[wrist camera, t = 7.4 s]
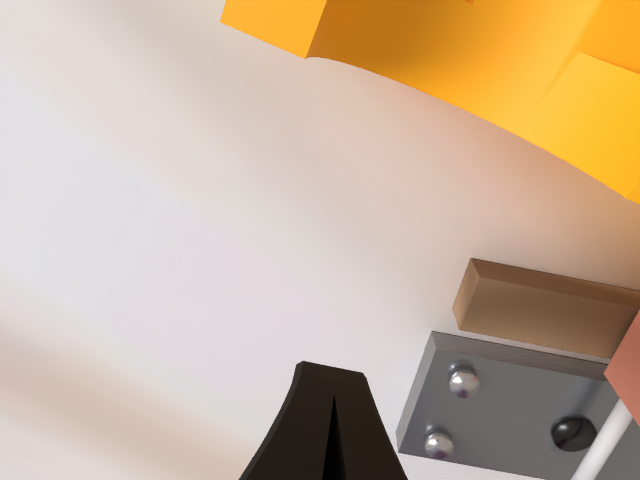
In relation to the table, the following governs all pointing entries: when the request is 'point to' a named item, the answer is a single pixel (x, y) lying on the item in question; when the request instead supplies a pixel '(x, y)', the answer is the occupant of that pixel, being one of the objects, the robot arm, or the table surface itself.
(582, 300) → the trammel bar
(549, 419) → the strip
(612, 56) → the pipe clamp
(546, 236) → the table surface
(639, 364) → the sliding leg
